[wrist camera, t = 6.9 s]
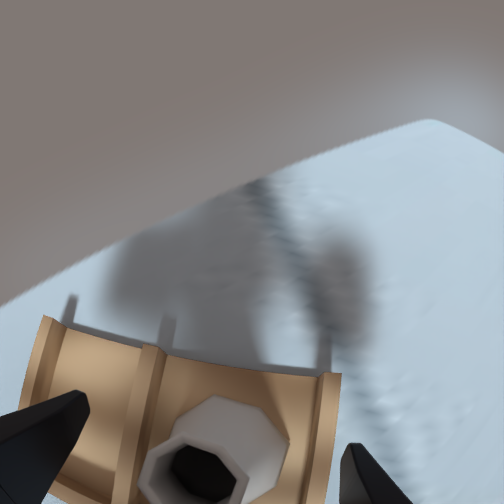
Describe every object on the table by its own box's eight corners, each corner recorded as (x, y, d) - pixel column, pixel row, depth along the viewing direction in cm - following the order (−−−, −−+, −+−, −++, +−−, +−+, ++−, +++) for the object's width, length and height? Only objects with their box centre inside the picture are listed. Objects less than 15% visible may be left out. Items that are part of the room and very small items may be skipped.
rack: (305, 547, 12) (311, 562, 10) (31, 467, 14) (9, 467, 12) (332, 379, 18) (342, 373, 16) (61, 327, 20) (43, 314, 18)
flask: (212, 374, 18) (168, 324, 9) (310, 438, 16) (366, 451, 7) (143, 458, 15) (47, 473, 6) (240, 526, 13) (223, 607, 4)
